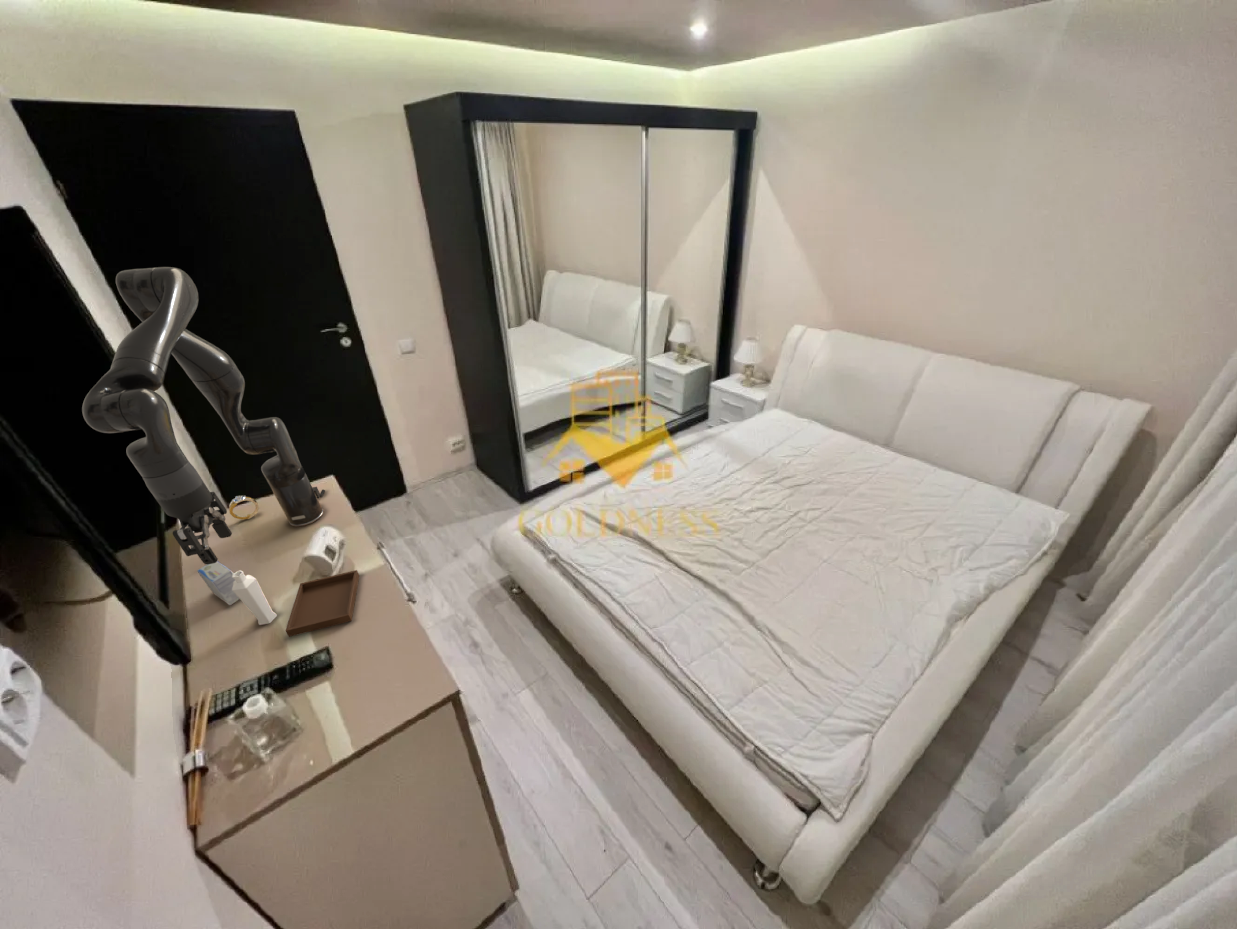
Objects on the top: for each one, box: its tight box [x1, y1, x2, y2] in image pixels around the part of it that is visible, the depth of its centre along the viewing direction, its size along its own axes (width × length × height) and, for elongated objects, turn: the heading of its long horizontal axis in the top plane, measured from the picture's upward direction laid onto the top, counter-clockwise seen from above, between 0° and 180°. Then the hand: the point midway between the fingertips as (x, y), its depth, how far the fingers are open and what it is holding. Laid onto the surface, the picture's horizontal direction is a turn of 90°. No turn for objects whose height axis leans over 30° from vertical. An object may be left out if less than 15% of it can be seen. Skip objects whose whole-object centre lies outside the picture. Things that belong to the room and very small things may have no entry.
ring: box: [228, 494, 259, 520], centre depth 144 cm, size 7×3×8 cm, turn 125°
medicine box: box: [196, 560, 240, 606], centre depth 118 cm, size 8×4×9 cm, turn 59°
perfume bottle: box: [232, 569, 278, 626], centre depth 110 cm, size 5×4×15 cm
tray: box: [284, 569, 360, 638], centre depth 116 cm, size 15×13×2 cm
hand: (219, 549), depth 101 cm, fingers open, 8 cm apart
